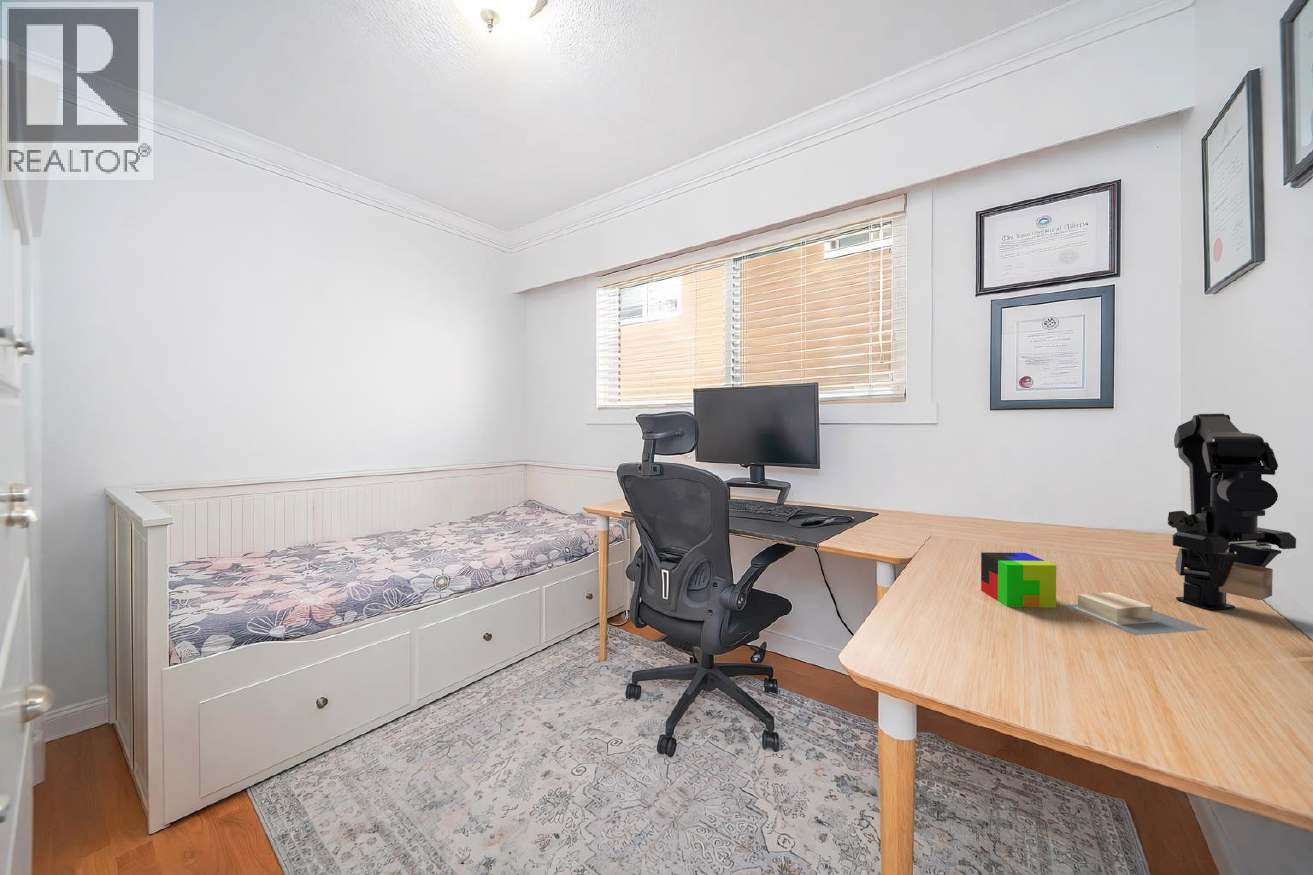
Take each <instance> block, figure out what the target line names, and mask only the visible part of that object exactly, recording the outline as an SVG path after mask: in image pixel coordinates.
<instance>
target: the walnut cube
mask: <svg viewBox="0 0 1313 875" xmlns="http://www.w3.org/2000/svg"><path fill="white" fill-rule="evenodd" d="M1273 569H1274V568H1270V567H1267V566H1266V567H1260V566H1254V565H1249V564H1243V563H1237V562H1234V563H1233V566H1232V568H1231V570H1230V573H1229V575H1228V577H1227V580H1226V582H1225V583H1224V585H1223V586H1222V587H1219V592H1224V593H1226V594H1229V595H1235V596H1239V597H1244V598H1247V599H1253V600H1257V601H1262V600H1265V599H1267V598H1269V597H1270V598H1271V597H1272V596H1273V578H1274V577H1273V574H1274V573H1273V572H1274V571H1273Z"/></svg>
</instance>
